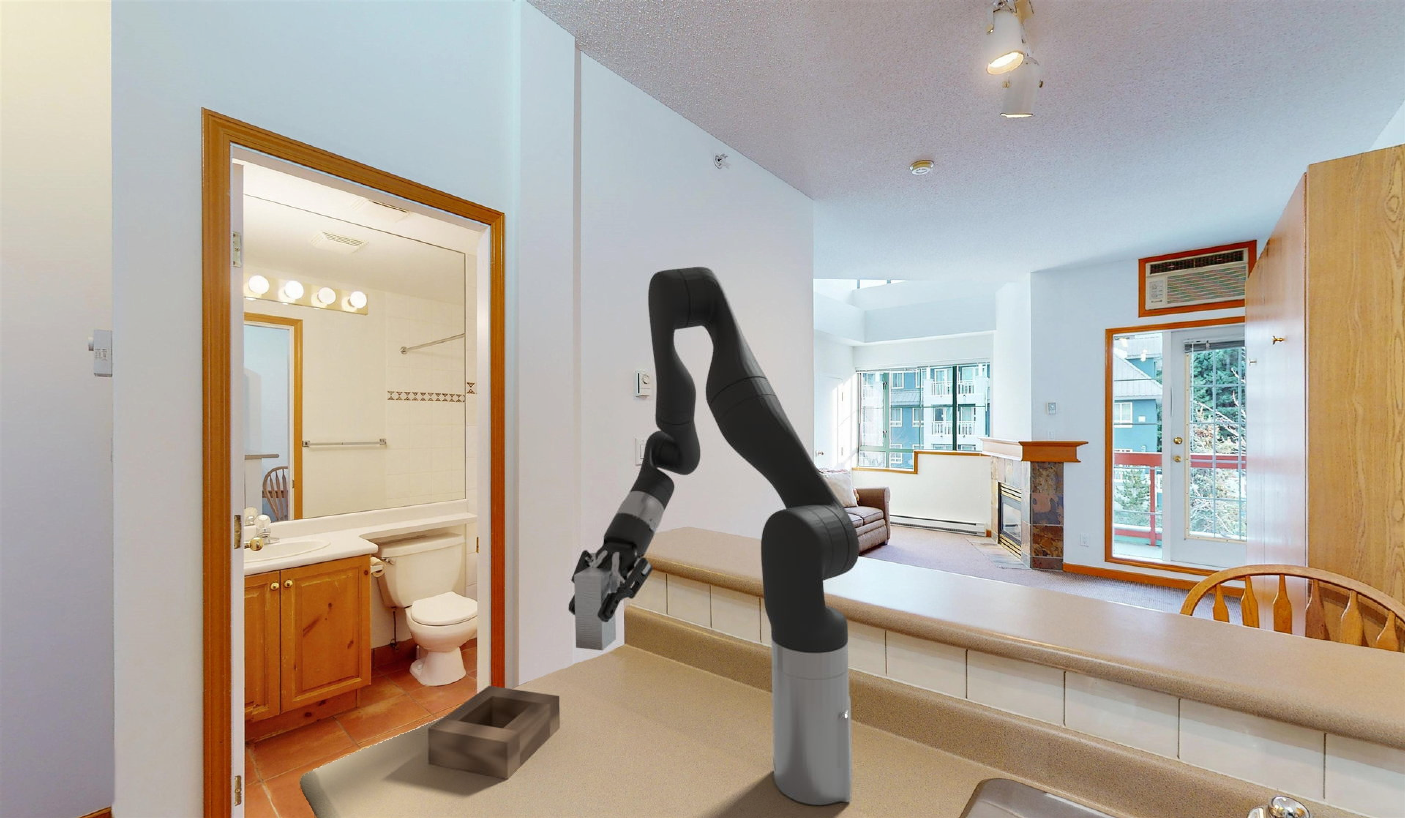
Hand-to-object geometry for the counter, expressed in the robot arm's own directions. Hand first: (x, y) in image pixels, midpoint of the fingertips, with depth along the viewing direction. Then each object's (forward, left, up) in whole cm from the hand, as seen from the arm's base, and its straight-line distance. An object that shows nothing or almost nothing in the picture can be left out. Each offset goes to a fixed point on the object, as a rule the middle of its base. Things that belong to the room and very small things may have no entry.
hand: (587, 615), depth 85 cm
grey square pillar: (-1, -2, -5) cm, 5 cm away
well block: (+8, +11, -14) cm, 20 cm away
